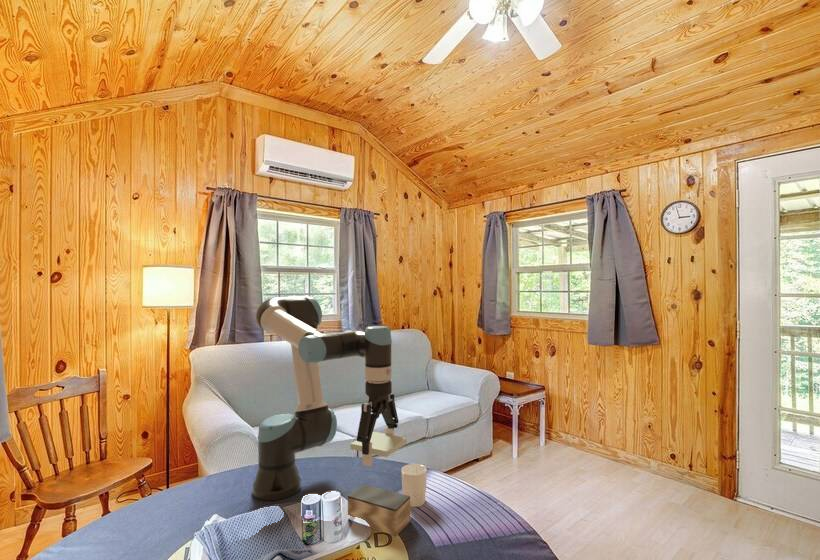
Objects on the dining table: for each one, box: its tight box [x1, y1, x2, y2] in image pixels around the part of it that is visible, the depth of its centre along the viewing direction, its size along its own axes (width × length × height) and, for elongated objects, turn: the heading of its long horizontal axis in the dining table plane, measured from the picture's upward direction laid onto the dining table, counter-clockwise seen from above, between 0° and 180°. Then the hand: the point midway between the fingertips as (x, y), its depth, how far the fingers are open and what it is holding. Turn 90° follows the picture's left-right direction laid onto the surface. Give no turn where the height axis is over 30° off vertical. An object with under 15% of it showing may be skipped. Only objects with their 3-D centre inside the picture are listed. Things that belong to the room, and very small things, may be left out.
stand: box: [347, 483, 411, 537], centre depth 118 cm, size 16×8×7 cm, turn 62°
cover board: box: [350, 431, 408, 458], centre depth 119 cm, size 12×11×2 cm
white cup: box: [400, 463, 428, 508], centre depth 129 cm, size 8×8×10 cm
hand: (379, 457), depth 119 cm, fingers closed on cover board, 11 cm apart
